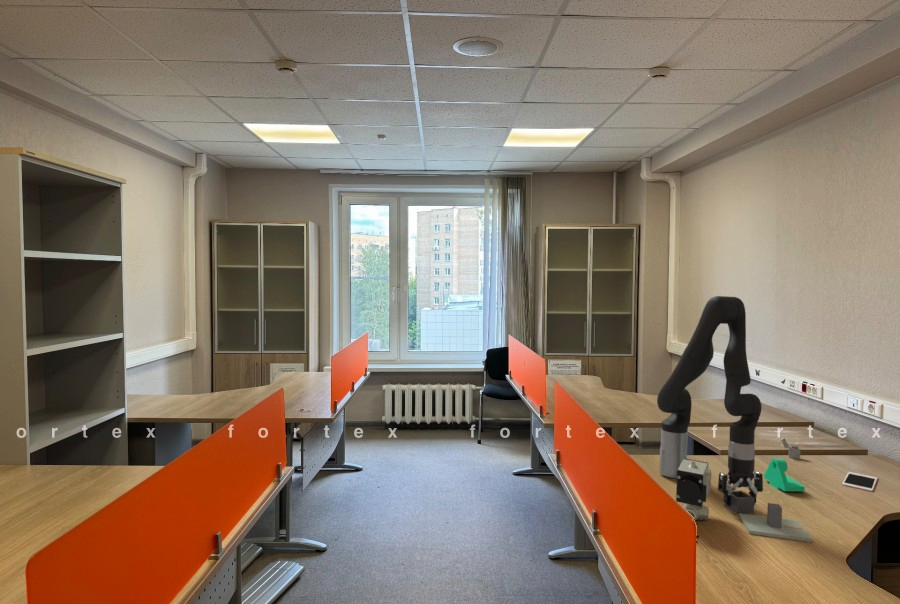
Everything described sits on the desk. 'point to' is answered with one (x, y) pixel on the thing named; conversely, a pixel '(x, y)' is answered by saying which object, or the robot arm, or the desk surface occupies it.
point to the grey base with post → (775, 525)
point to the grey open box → (741, 502)
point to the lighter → (792, 450)
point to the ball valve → (694, 487)
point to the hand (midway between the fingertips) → (739, 504)
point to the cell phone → (860, 481)
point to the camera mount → (781, 477)
